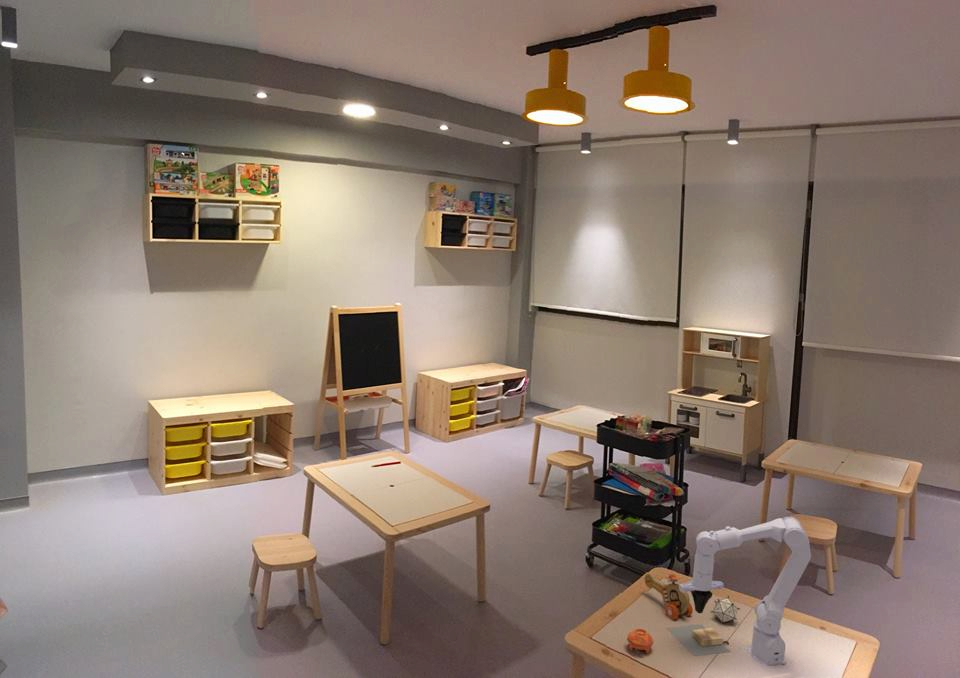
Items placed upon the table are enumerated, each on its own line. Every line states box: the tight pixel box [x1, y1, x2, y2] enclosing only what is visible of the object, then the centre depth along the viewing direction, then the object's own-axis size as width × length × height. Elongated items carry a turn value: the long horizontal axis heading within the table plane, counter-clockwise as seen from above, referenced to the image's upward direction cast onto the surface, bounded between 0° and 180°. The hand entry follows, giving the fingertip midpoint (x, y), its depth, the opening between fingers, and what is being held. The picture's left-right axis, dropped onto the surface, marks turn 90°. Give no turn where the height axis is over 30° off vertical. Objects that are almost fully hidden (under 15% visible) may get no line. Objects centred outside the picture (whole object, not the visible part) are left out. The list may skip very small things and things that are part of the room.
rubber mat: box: [666, 623, 731, 657], centre depth 221 cm, size 16×13×1 cm
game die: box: [710, 595, 741, 625], centre depth 234 cm, size 9×8×10 cm
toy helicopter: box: [644, 573, 693, 621], centre depth 241 cm, size 8×21×14 cm, turn 27°
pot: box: [626, 628, 655, 654], centre depth 214 cm, size 8×8×7 cm
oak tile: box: [692, 627, 723, 646], centre depth 221 cm, size 6×2×7 cm
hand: (698, 611), depth 219 cm, fingers closed
